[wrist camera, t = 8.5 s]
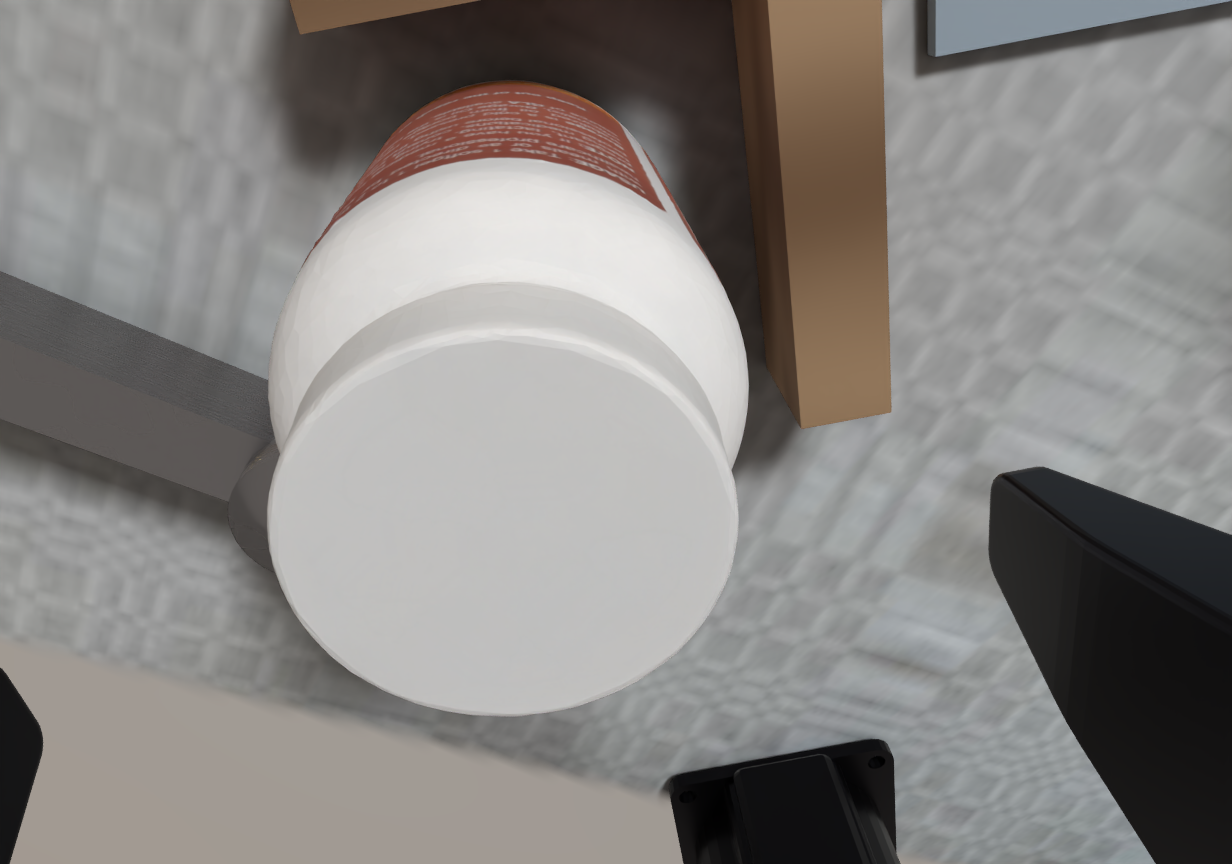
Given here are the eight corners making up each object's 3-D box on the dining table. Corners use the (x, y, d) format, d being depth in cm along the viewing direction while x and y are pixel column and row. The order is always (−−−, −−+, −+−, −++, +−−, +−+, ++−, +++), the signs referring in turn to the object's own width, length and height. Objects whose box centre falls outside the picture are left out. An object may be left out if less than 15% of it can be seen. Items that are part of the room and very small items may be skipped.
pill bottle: (301, 241, 18) (41, 575, 9) (503, 0, 17) (461, 75, 7) (531, 423, 21) (530, 846, 11) (728, 228, 19) (937, 526, 9)
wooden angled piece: (847, 403, 21) (892, 468, 18) (291, 507, 21) (256, 586, 19) (817, -205, 16) (875, -236, 13) (60, -60, 16) (-36, -61, 13)
